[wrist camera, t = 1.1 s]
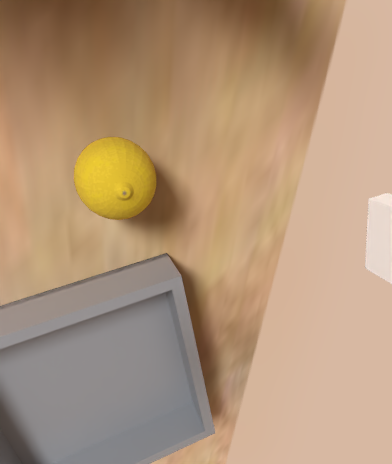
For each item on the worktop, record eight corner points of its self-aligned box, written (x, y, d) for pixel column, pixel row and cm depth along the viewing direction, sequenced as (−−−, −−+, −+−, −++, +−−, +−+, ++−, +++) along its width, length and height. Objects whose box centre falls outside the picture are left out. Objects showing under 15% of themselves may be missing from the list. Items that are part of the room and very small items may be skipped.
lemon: (70, 129, 26) (74, 144, 19) (144, 133, 28) (172, 148, 21) (73, 200, 28) (77, 238, 21) (141, 200, 30) (167, 233, 23)
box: (22, 478, 36) (17, 525, 32) (-73, 329, 28) (-95, 369, 24) (200, 400, 41) (215, 433, 37) (166, 253, 32) (181, 275, 29)
